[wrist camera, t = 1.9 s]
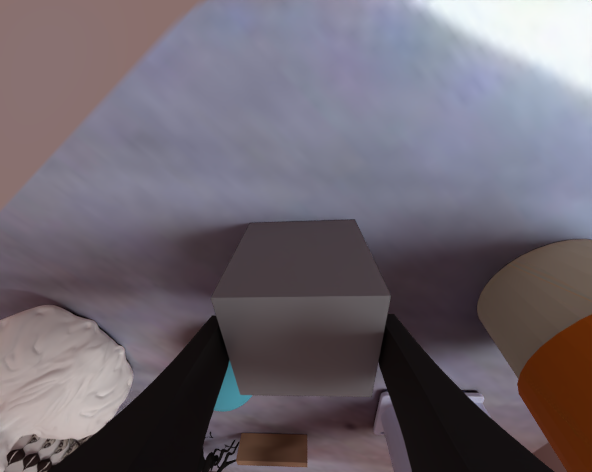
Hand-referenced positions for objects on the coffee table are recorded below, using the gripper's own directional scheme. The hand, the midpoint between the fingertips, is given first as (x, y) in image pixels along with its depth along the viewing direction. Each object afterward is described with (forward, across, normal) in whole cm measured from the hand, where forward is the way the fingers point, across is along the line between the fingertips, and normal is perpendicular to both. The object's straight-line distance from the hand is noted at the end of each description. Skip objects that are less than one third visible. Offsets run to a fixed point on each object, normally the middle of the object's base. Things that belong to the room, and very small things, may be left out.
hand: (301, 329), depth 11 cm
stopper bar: (+5, +4, +26) cm, 27 cm away
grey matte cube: (+5, 0, 0) cm, 5 cm away
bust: (+6, +20, +8) cm, 22 cm away
